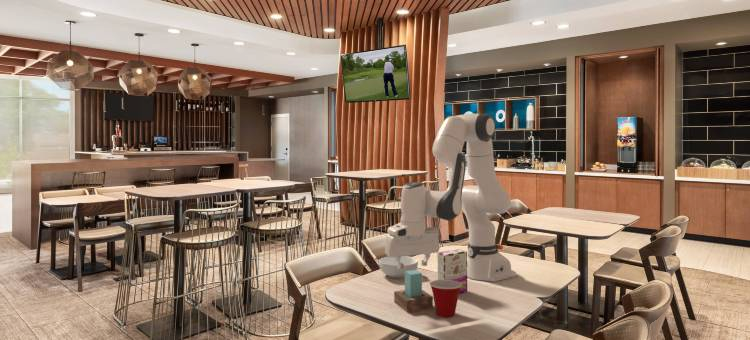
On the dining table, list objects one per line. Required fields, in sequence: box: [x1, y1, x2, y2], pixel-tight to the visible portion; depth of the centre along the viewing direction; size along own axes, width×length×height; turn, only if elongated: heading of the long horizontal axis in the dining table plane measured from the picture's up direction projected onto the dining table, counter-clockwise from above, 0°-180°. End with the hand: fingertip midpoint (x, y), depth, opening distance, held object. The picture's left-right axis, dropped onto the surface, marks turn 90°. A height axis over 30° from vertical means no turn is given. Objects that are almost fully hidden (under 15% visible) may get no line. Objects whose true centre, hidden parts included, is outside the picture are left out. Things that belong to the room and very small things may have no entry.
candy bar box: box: [436, 248, 468, 294], centre depth 180 cm, size 11×5×16 cm, turn 117°
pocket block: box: [393, 289, 434, 313], centre depth 166 cm, size 10×10×5 cm
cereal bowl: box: [378, 256, 419, 279], centre depth 202 cm, size 17×17×7 cm
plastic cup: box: [429, 279, 462, 319], centre depth 157 cm, size 11×11×12 cm
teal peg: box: [404, 269, 423, 298], centre depth 166 cm, size 4×4×12 cm
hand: (412, 266), depth 165 cm, fingers open, 8 cm apart
